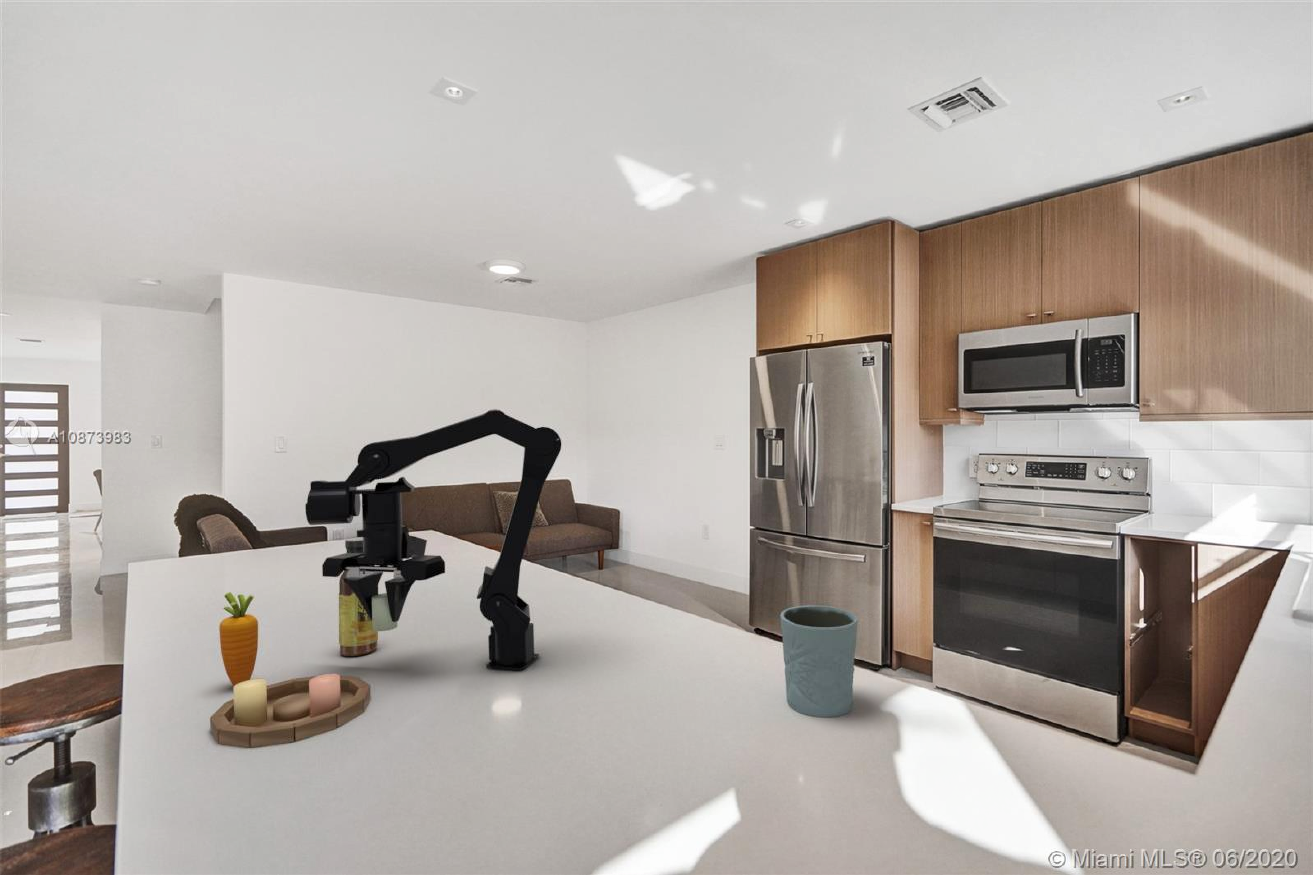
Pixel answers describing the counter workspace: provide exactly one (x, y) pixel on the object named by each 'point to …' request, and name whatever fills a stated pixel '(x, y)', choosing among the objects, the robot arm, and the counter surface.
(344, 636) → the sauce bottle
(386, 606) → the bead sage
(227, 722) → the groove tray
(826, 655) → the teal embossed cup
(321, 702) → the bead coral
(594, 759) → the counter surface
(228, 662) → the carrot
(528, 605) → the robot arm
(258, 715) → the bead mustard
